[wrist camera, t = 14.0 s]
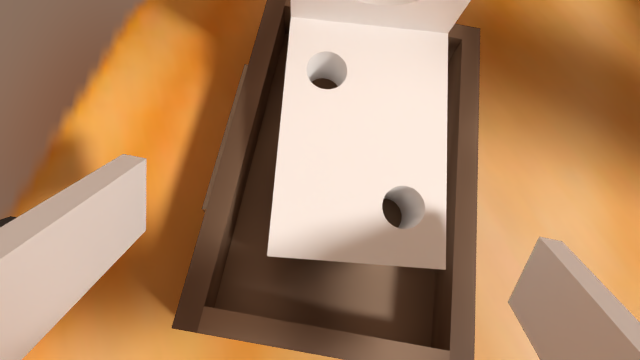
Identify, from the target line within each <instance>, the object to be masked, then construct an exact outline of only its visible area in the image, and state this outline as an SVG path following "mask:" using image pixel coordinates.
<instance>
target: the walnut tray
mask: <svg viewBox="0 0 640 360" xmlns="http://www.w3.org/2000/svg"><path fill="white" fill-rule="evenodd" d="M290 21H291V0H267V3H266V6H265V10H264V13H263V16H262V20H261V23H260V27H259V30H258V34H257V37H256V40H255V44H254V47H253V51H252V54H251V58H250V61H249V64H248V65H246V64H245V65H244V68H243V72H242V75H241V79H240V82H239V85H238V89H237V92H236V95H235V99H234V102H233V106H232V109H231V112H230V116H229V119H228V123H227V126H226V129H225V133H224V136H223V139H222V143H221V146H220V150H219V153H218V156H217V160H216V163H215V166H214V170H213V173H212V177H211V180H210V183H209V187H208V190H207V193H206V197H205V200H204V204H203V207H202V209H203V211H204V212H205V215H204V219H203V222H202V226H201V229H200V232H199V236H198V239H197V243H196V246H195V250H194V253H193V256H192V260H191V263H190V267H189V270H188V274H187V277H186V280H185V284H184V287H183V291H182V294H181V298H180V301H179V304H178V308H177V311H176V315H175V318H174V322H173V325H172V328H173V329H179V330H184V331H190V332H195V333H201V334H206V335H212V336H217V337H223V338H228V339H234V340H239V341H245V342H250V343H256V344H261V345H267V346H272V347H278V348H283V349H289V350H294V351H300V352H305V353H311V354H316V355H322V356H327V357H333V358H338V359H344V360H474V343H475V288H476V233H477V179H478V124H479V69H480V28H474V27H469V26H464V25H459V24H454V26H453V27H452V28H451V30H450V31H449V33H448V94H447V197H446V270H442V269H429V268H416V267H403V266H389V265H376V264H363V263H350V262H337V261H323V260H310V259H297V258H284V257H270V256H267V251H268V241H269V231H270V221H271V211H272V201H273V191H274V181H275V171H276V161H277V151H278V141H279V131H280V121H281V111H282V101H283V91H284V81H285V71H286V61H287V51H288V41H289V31H290ZM312 83H313V84H314V85H315V86H317V87H319V88H321V89H334V88H336V87H338V86H337V85H336V84H335V83H334V82H333V81H331V80H329V79H325V78H320V79H316V80H314V81H312ZM382 210H383V214H384V216H385V218H386V219H387V221H388V222H389V223H390V224H391V225H393V226H395V227H397V228H398V227H399V225H400V223H401V219H402V215H401V210H400V208H399V207H398V205H397V204H396V203H395V202H394V201H392V200H390V199H386V198H384V199H383V203H382Z"/></svg>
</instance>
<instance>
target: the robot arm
mask: <svg viewBox="0 0 640 360" xmlns="http://www.w3.org/2000/svg"><path fill="white" fill-rule="evenodd" d="M145 231H146V158H141V157H135V156H130V155H125V154H122V155H121V156H119V157H117V158H116V159H114V160H112V161H111V162H109V163H107V164H106V165H104V166H102V167H101V168H99V169H97V170H96V171H94V172H92V173H91V174H89V175H87V176H86V177H84V178H82V179H81V180H79V181H77V182H76V183H74V184H72V185H71V186H69V187H67V188H66V189H64V190H62V191H60V192H59V193H57V194H55V195H54V196H52V197H50V198H49V199H47V200H45V201H44V202H42V203H40V204H39V205H37V206H35V207H34V208H32V209H30V210H29V211H27V212H25V213H24V214H22V215H20V216H19V217H17V218H16V217H11V216H10V217H7V218H4V219H1V220H0V360H22V359H23V358H24V357H25V356H26V355H27V354H28V353H29V352H30V351H31V349H32V348H33V347H34V346H35V345H36V344H37V343H38V342H39V341H40V340H41V339H42V338H43V337H44V336H45V335H46V334H47V333H48V332H49V331H50V330H51V329H52V328H53V327H54V326H55V325H56V323H57V322H58V321H59V320H60V319H61V318H62V317H63V316H64V315H65V314H66V313H67V312H68V311H69V310H70V309H71V308H72V307H73V306H74V305H75V304H76V303H77V302H78V301H79V300H80V299H81V297H82V296H83V295H84V294H85V293H86V292H87V291H88V290H89V289H90V288H91V287H92V286H93V285H94V284H95V283H96V282H97V281H98V280H99V279H100V278H101V277H102V276H103V275H104V274H105V273H106V271H107V270H108V269H109V268H110V267H111V266H112V265H113V264H114V263H115V262H116V261H117V260H118V259H119V258H120V257H121V256H122V255H123V254H124V253H125V252H126V251H127V250H128V249H129V248H130V247H131V245H132V244H133V243H134V242H135V241H136V240H137V239H138V238H139V237H140V236H141V235H142V234H143V233H144V232H145ZM508 303H509V305H510V307H511V308H512V310H513V312H514V314H515V316H516V317H517V319H518V321H519V323H520V324H521V326H522V328H523V330H524V332H525V333H526V335H527V337H528V339H529V341H530V342H531V344H532V346H533V348H534V349H535V351H536V353H537V355H538V357H539V358H540V360H640V322H639V321H638V320H637V319H636V318H635V317H634V316H633V315H632V314H631V313H630V312H629V311H628V310H627V309H626V308H625V307H624V306H623V304H622V303H621V302H620V301H619V300H618V299H617V298H616V297H615V296H614V295H613V294H612V293H611V292H610V291H609V290H608V289H607V288H606V287H605V286H604V285H603V284H602V283H601V281H600V280H599V279H598V278H597V277H596V276H595V275H594V274H593V273H592V272H591V271H590V270H589V269H588V268H587V267H586V266H585V265H584V264H583V263H582V262H581V261H580V259H579V258H578V257H577V256H576V255H575V254H574V253H573V252H572V251H571V250H570V249H569V248H568V247H567V246H566V245H565V244H564V243H563V242H562V241H558V240H553V239H548V238H543V237H539V238H538V240H537V243H536V245H535V247H534V249H533V251H532V253H531V255H530V257H529V259H528V261H527V263H526V265H525V267H524V270H523V272H522V274H521V276H520V278H519V280H518V282H517V284H516V286H515V288H514V290H513V292H512V294H511V297H510V299H509V301H508Z"/></svg>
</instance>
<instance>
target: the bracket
mask: <svg viewBox="0 0 640 360" xmlns="http://www.w3.org/2000/svg"><path fill="white" fill-rule="evenodd" d="M470 1H471V0H291V21H290V31H289V41H288V51H287V61H286V71H285V81H284V91H283V101H282V111H281V121H280V131H279V141H278V151H277V161H276V171H275V181H274V191H273V201H272V211H271V221H270V231H269V241H268V251H267V256H270V257H284V258H297V259H310V260H323V261H337V262H350V263H363V264H376V265H389V266H403V267H416V268H429V269H442V270H446V197H447V94H448V33H449V31H450V30H451V28H452V27H453V26H454V24H455V23H456V21H457V20H458V18H459V17H460V15H461V14H462V12H463V11H464V10H465V8H466V7H467V5H468V4H469V2H470ZM320 78H325V79H329V80H331V81H333V82H334V83H335V84H336V85H337V86H338V87H336V88H334V89H321V88H319V87H317V86H315V85H314V84H313V83H312V81H314V80H316V79H320ZM384 198H386V199H390V200H392V201H394V202H395V203H396V204H397V205H398V207H399V208H400V210H401V215H402V219H401V223H400V225H399V227H398V228H397V227H395V226H393V225H391V224H390V223H389V222H388V221H387V219H386V218H385V216H384V214H383V210H382V203H383V199H384Z"/></svg>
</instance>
